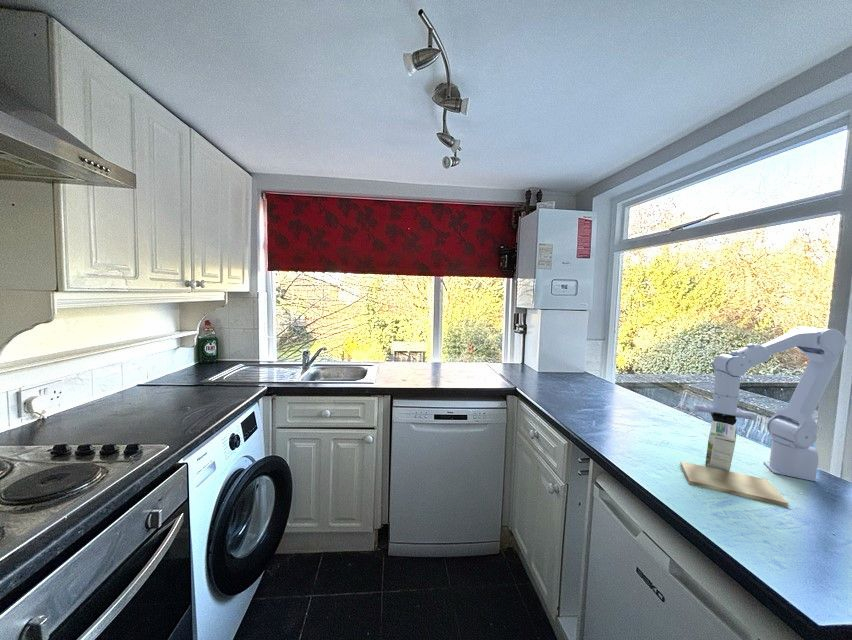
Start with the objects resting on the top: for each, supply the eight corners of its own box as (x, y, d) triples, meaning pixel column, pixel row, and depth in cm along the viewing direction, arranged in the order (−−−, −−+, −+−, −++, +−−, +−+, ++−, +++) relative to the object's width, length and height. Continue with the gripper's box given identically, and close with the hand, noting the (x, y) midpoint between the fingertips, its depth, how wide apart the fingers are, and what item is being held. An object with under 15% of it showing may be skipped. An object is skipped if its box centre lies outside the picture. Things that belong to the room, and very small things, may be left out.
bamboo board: (766, 482, 99) (767, 479, 99) (787, 506, 88) (788, 503, 88) (680, 464, 108) (680, 461, 108) (689, 483, 97) (689, 480, 97)
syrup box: (706, 452, 111) (710, 419, 104) (731, 458, 107) (737, 425, 101) (705, 466, 108) (709, 434, 101) (730, 473, 104) (736, 440, 97)
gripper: (752, 395, 106) (747, 439, 107) (693, 387, 113) (688, 429, 114) (761, 401, 100) (755, 448, 101) (698, 392, 107) (693, 436, 108)
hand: (720, 438), depth 107 cm, fingers closed
